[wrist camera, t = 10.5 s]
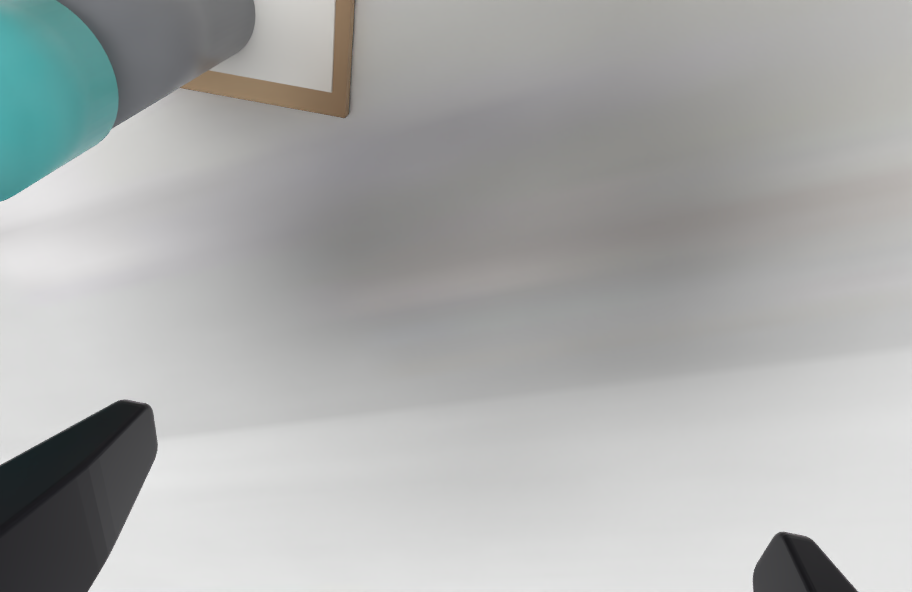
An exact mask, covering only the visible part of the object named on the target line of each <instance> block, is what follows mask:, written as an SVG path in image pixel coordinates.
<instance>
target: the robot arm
mask: <svg viewBox="0 0 912 592" xmlns="http://www.w3.org/2000/svg"><path fill="white" fill-rule="evenodd" d="M157 447H158V444H157V436H156V429H155V422H154V415H153V410H152V408H151V407H150V406H149V405H148V404H146V403H141V402H136V401H131V400H120V401H117V402H115V403H113V404H111V405H109V406H107V407H106V408H104V409H102V410H100V411H98V412H97V413H95V414H93V415H91V416H89V417H87V418H86V419H84V420H82V421H80V422H78V423H76V424H75V425H73V426H71V427H69V428H67V429H65V430H64V431H62V432H60V433H58V434H56V435H54V436H53V437H51V438H49V439H47V440H45V441H43V442H42V443H40V444H38V445H36V446H34V447H32V448H31V449H29V450H27V451H25V452H23V453H22V454H20V455H18V456H16V457H14V458H12V459H11V460H9V461H7V462H5V463H3V464H1V465H0V592H88V590H89V589H90V587H91V585H92V584H93V582H94V580H95V579H96V577H97V575H98V574H99V572H100V570H101V569H102V567H103V565H104V564H105V562H106V560H107V558H108V557H109V555H110V553H111V551H112V549H113V547H114V545H115V543H116V541H117V539H118V537H119V534H120V532H121V530H122V528H123V526H124V524H125V522H126V520H127V517H128V515H129V513H130V511H131V509H132V507H133V505H134V503H135V500H136V498H137V496H138V494H139V492H140V490H141V488H142V486H143V483H144V481H145V479H146V477H147V475H148V473H149V471H150V469H151V466H152V464H153V462H154V460H155V457H156V454H157ZM753 591H754V592H858V591H857V590H856V589H855V588H854V587H853V585H852V584H851V583H850V582H849V581H848V580H847V579H846V577H845V576H844V575H843V574H842V573H841V572H840V571H839V569H838V568H837V567H836V566H835V565H834V564H833V562H832V561H831V560H830V559H829V558H828V557H827V556H826V554H825V553H824V552H823V551H822V550H821V549H820V548H819V546H818V545H817V544H816V543H815V542H814V541H813V540H812V539H810V538H808V537H806V536H802V535H797V534H792V533H787V532H779V533H777V534H776V535H775V536H774V537H773V539H772V540H771V542H770V543H769V545H768V547H767V548H766V550H765V551H764V553H763V555H762V556H761V558H760V559H759V561H758V563H757V564H756V567H755V569H754V574H753Z"/></svg>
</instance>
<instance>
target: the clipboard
mask: <svg viewBox="0 0 912 592" xmlns="http://www.w3.org/2000/svg"><path fill="white" fill-rule="evenodd" d="M354 2H355V0H254V5H255V25H254V30H253V33H252V36H251V38H250V40H249V41H248V43H247V44H246V45H245V47H244V48H243V49H242V50H240V51H239V52H238V53H236V54H235V55H233V56H231V57H230V58H228V59H226V60H225V61H223V62H221V63H220V64H218V65H216V66H215V67H213V68H211V69H210V70H208V71H206V72H205V73H203V74H201V75H200V76H198V77H196V78H195V79H193V80H191V81H190V82H188V83H186V84H185V85H183V86H182V87H180V88H184V89H189V90H195V91H200V92H206V93H211V94H217V95H222V96H227V97H233V98H238V99H244V100H249V101H255V102H260V103H266V104H271V105H276V106H282V107H287V108H293V109H298V110H304V111H309V112H315V113H320V114H325V115H331V116H336V117H342V118H345V117H346V116H347V115H348V114H349V96H350V78H351V59H352V40H353V21H354Z"/></svg>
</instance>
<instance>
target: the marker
mask: <svg viewBox="0 0 912 592" xmlns="http://www.w3.org/2000/svg"><path fill="white" fill-rule="evenodd" d="M254 25H255V5H254V0H0V201H4V200H6V199H8V198H10V197H12V196H14V195H16V194H17V193H19V192H21V191H22V190H24V189H25V188H27V187H29V186H30V185H32V184H33V183H35V182H37V181H38V180H40V179H42V178H43V177H45V176H46V175H48V174H50V173H51V172H53V171H55V170H56V169H58V168H59V167H61V166H63V165H64V164H66V163H67V162H69V161H71V160H72V159H74V158H76V157H77V156H79V155H80V154H82V153H84V152H85V151H87V150H88V149H90V148H92V147H93V146H95V145H97V144H98V143H99V142H100V141H102V140H103V139H104V138H105V137H106V136H107V135H108V133H109V132H110V130H111V129H112V128H114V127H115V126H117V125H119V124H120V123H122V122H124V121H125V120H127V119H129V118H130V117H132V116H134V115H135V114H137V113H138V112H140V111H142V110H143V109H145V108H147V107H148V106H150V105H152V104H153V103H155V102H157V101H158V100H160V99H162V98H163V97H165V96H167V95H168V94H170V93H172V92H173V91H175V90H177V89H178V88H180V87H182V86H183V85H185V84H186V83H188V82H190V81H191V80H193V79H195V78H196V77H198V76H200V75H201V74H203V73H205V72H206V71H208V70H210V69H211V68H213V67H215V66H216V65H218V64H220V63H221V62H223V61H225V60H226V59H228V58H230V57H231V56H233V55H235V54H236V53H238V52H239V51H240V50H242V49H243V48H244V47H245V45H246V44H247V43H248V41H249V40H250V38H251V36H252V33H253V30H254Z"/></svg>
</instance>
